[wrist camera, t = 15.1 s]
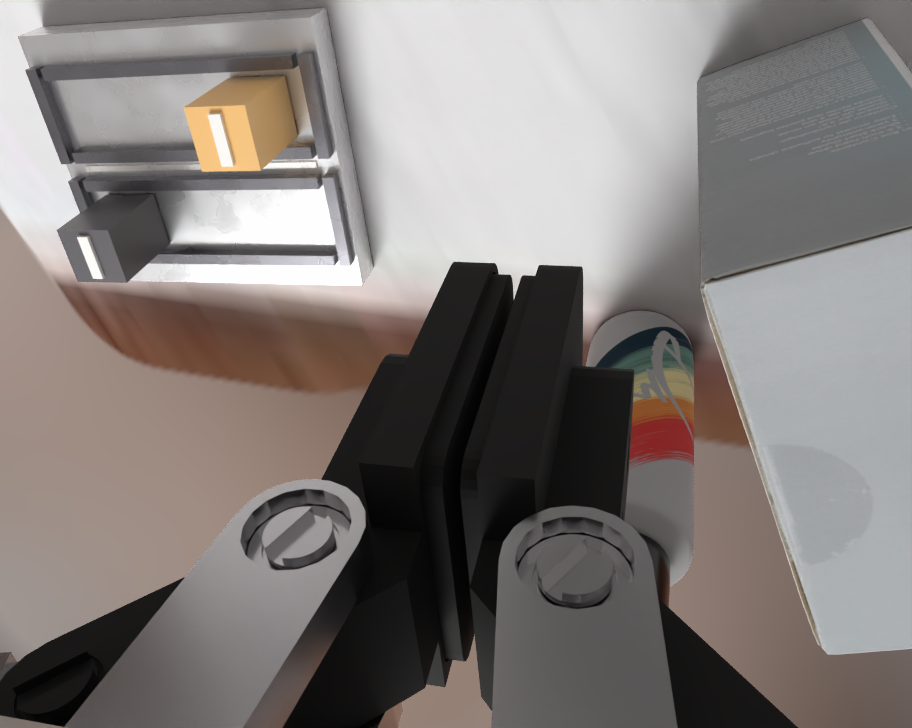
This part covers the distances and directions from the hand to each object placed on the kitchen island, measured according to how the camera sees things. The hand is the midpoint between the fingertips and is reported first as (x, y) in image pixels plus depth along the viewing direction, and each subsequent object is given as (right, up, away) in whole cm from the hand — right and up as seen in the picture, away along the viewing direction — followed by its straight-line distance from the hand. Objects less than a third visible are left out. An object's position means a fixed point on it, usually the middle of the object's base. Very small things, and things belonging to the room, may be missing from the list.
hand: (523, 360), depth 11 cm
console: (-14, +12, +35) cm, 39 cm away
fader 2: (-10, +13, +30) cm, 34 cm away
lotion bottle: (+9, +1, +36) cm, 37 cm away
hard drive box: (+16, +8, +29) cm, 34 cm away
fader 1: (-19, +8, +36) cm, 41 cm away
